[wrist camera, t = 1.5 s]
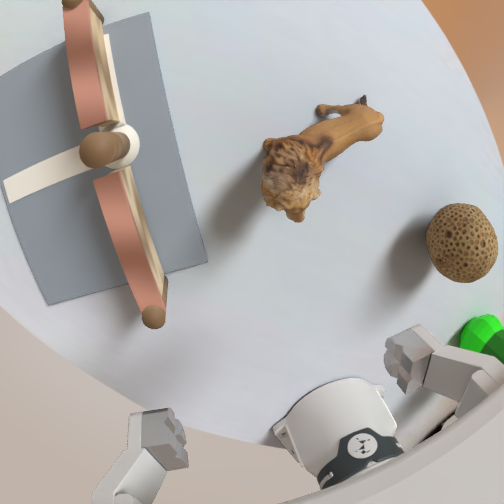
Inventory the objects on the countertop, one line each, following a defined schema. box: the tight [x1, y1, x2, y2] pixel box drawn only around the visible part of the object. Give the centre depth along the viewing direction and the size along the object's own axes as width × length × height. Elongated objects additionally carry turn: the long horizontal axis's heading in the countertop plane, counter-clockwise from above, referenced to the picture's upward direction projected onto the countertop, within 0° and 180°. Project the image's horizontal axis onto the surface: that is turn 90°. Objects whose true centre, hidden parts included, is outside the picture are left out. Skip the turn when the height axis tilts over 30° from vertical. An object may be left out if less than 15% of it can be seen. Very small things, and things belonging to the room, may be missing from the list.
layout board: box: [0, 12, 208, 305], centre depth 23 cm, size 24×18×1 cm
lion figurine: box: [261, 95, 384, 223], centre depth 23 cm, size 15×5×9 cm, turn 131°
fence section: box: [62, 0, 130, 169], centre depth 18 cm, size 15×2×7 cm, turn 11°
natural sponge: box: [426, 203, 498, 283], centre depth 29 cm, size 9×9×10 cm
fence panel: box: [93, 166, 168, 329], centre depth 23 cm, size 12×2×6 cm, turn 11°
